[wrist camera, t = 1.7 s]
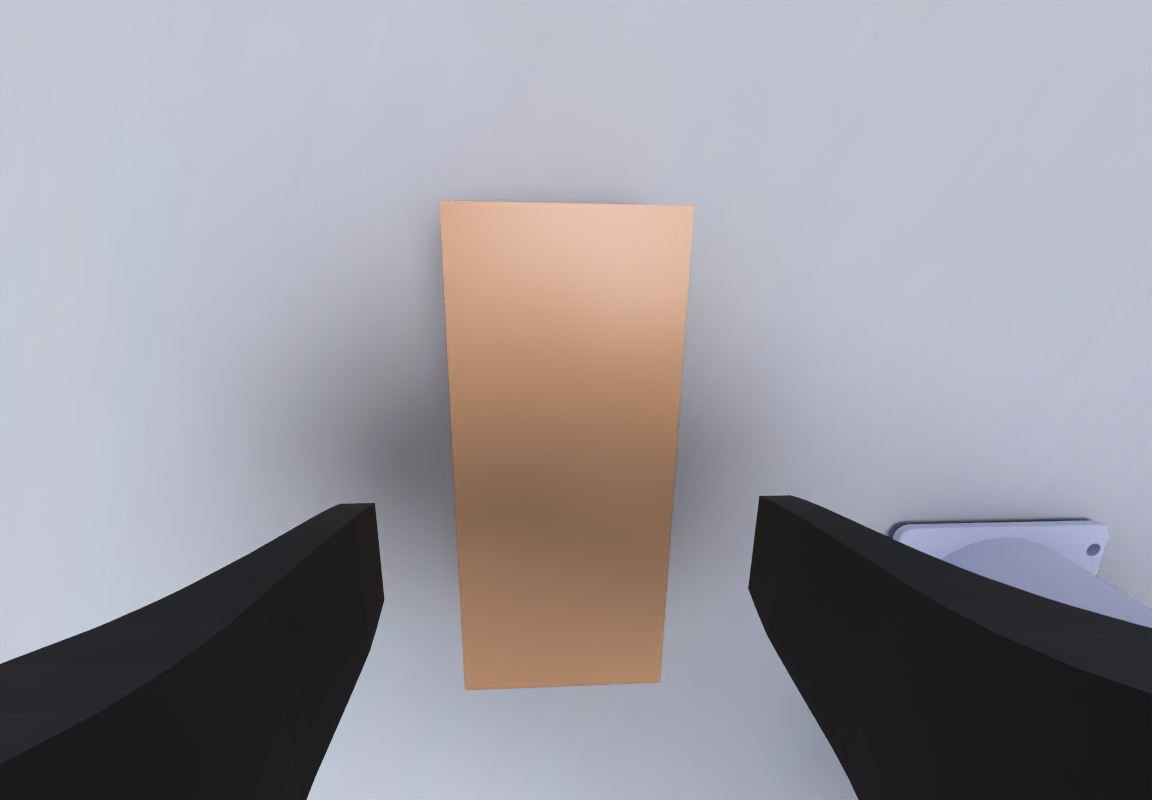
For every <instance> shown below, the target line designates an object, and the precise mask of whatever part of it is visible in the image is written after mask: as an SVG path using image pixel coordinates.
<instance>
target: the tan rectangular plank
mask: <svg viewBox="0 0 1152 800" xmlns="http://www.w3.org/2000/svg"><path fill="white" fill-rule="evenodd" d="M439 205H440V224H441V243H442V262H443V281H444V300H445V319H446V338H447V357H448V376H449V395H450V414H451V433H452V453H453V472H454V491H455V510H456V529H457V548H458V567H459V586H460V605H461V624H462V643H463V662H464V681H465V690H482V689H507V688H533V687H558V686H583V685H608V684H633V683H658V682H660V675H661V661H662V647H663V633H664V619H665V605H666V591H667V577H668V563H669V549H670V535H671V521H672V507H673V493H674V479H675V465H676V451H677V437H678V423H679V409H680V395H681V381H682V367H683V353H684V339H685V325H686V311H687V297H688V283H689V269H690V255H691V241H692V227H693V213H694V206H685V205H635V204H585V203H535V202H485V201H439Z"/></svg>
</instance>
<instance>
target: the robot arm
mask: <svg viewBox="0 0 1152 800" xmlns="http://www.w3.org/2000/svg"><path fill="white" fill-rule="evenodd" d="M1108 539H1109V530H1108V528H1107V527H1106V526H1105V525H1103V524H1101V523H1099V522H1097V521H1045V522H996V523H948V524H908V525H903V526H901V527H900V528H898V529H897V530H896V531H895V533H894V535H893V539H892V538H889V537H887V536H885V535H883V534H881V533H878V532H876V531H874V530H872V529H870V528H867V527H865V526H863V525H861V524H859V523H856V522H854V521H852V520H850V519H848V518H846V517H843V516H841V515H839V514H837V513H835V512H832V511H830V510H828V509H826V508H823V507H821V506H819V505H816V504H814V503H811V502H809V501H806V500H803V499H801V498H797V497H794V496H791V495H790V496H759V505H758V513H757V521H756V529H755V538H754V546H753V554H752V562H751V571H750V579H749V587H748V589H749V592H750V594H751V597H752V599H753V602H754V604H755V607H756V610H757V612H758V615H759V617H760V619H761V622H762V624H763V626H764V629H765V631H766V633H767V636H768V638H769V639H770V641H771V643H772V645H773V647H774V648H775V650H776V652H777V654H778V655H779V657H780V659H781V661H782V662H783V664H784V666H785V668H786V669H787V671H788V673H789V675H790V676H791V678H792V680H793V681H794V683H795V685H796V687H797V688H798V690H799V692H800V693H801V695H802V697H803V699H804V700H805V702H806V704H807V705H808V707H809V709H810V711H811V712H812V714H813V716H814V717H815V719H816V721H817V723H818V724H819V726H820V728H821V729H822V731H823V733H824V734H825V736H826V738H827V740H828V741H829V743H830V745H831V746H832V748H833V750H834V752H835V754H836V756H837V757H838V759H839V761H840V763H841V765H842V767H843V769H844V771H845V772H846V774H847V776H848V778H849V780H850V782H851V784H852V787H853V789H854V791H855V793H856V795H857V797H858V799H859V800H1152V609H1150V608H1149V607H1147V606H1146V605H1144V604H1142V603H1141V602H1139V601H1137V600H1136V599H1134V598H1132V597H1131V596H1129V595H1127V594H1126V593H1124V592H1122V591H1121V590H1119V589H1117V588H1116V587H1114V586H1112V585H1111V584H1109V583H1107V582H1106V581H1104V580H1102V579H1101V578H1099V577H1097V572H1098V569H1099V566H1100V563H1101V560H1102V557H1103V554H1104V551H1105V548H1106V545H1107V542H1108ZM383 603H384V592H383V582H382V572H381V561H380V551H379V541H378V531H377V521H376V511H375V503H357V504H339V505H336V506H334V507H332V508H330V509H328V510H326V511H324V512H322V513H320V514H318V515H316V516H314V517H313V518H311V519H309V520H307V521H306V522H304V523H302V524H300V525H299V526H297V527H295V528H293V529H292V530H290V531H288V532H286V533H285V534H283V535H281V536H279V537H278V538H276V539H274V540H272V541H271V542H269V543H267V544H265V545H264V546H262V547H260V548H258V549H257V550H255V551H253V552H251V553H250V554H248V555H246V556H244V557H242V558H240V559H238V560H237V561H235V562H233V563H231V564H229V565H227V566H225V567H223V568H221V569H220V570H218V571H216V572H214V573H212V574H210V575H208V576H206V577H204V578H203V579H201V580H199V581H197V582H195V583H193V584H191V585H189V586H187V587H185V588H183V589H181V590H179V591H177V592H175V593H173V594H171V595H169V596H167V597H164V598H162V599H160V600H158V601H156V602H154V603H152V604H149V605H147V606H145V607H143V608H140V609H138V610H136V611H133V612H131V613H129V614H127V615H124V616H122V617H120V618H118V619H115V620H113V621H111V622H108V623H106V624H104V625H101V626H99V627H96V628H94V629H91V630H89V631H86V632H84V633H81V634H78V635H76V636H73V637H70V638H68V639H65V640H62V641H60V642H57V643H54V644H52V645H49V646H47V647H44V648H41V649H39V650H36V651H33V652H31V653H28V654H25V655H23V656H20V657H17V658H15V659H12V660H9V661H7V662H4V663H2V664H0V800H306V799H307V797H308V794H309V792H310V789H311V787H312V784H313V781H314V779H315V776H316V774H317V772H318V770H319V767H320V765H321V763H322V760H323V758H324V756H325V754H326V751H327V749H328V747H329V744H330V742H331V740H332V738H333V735H334V733H335V731H336V728H337V726H338V724H339V722H340V719H341V717H342V715H343V712H344V710H345V708H346V706H347V703H348V701H349V699H350V696H351V694H352V692H353V689H354V687H355V685H356V682H357V680H358V678H359V675H360V673H361V671H362V668H363V666H364V664H365V661H366V659H367V656H368V654H369V652H370V649H371V645H372V642H373V639H374V635H375V632H376V629H377V625H378V621H379V618H380V614H381V610H382V606H383Z"/></svg>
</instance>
